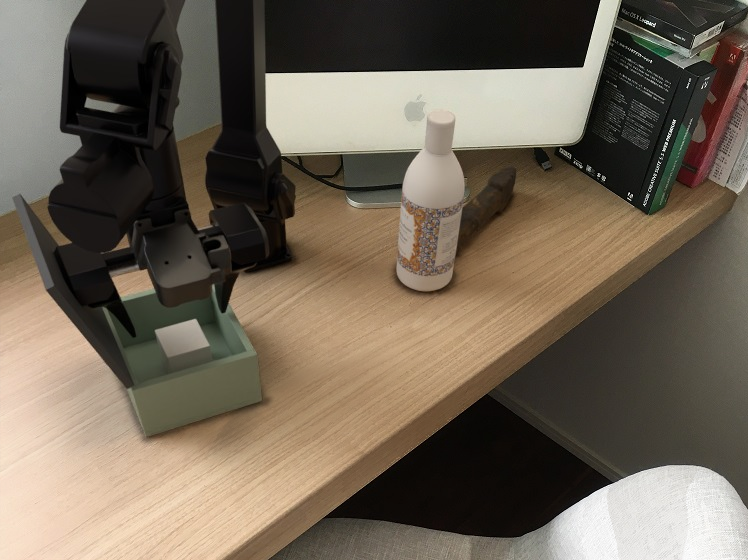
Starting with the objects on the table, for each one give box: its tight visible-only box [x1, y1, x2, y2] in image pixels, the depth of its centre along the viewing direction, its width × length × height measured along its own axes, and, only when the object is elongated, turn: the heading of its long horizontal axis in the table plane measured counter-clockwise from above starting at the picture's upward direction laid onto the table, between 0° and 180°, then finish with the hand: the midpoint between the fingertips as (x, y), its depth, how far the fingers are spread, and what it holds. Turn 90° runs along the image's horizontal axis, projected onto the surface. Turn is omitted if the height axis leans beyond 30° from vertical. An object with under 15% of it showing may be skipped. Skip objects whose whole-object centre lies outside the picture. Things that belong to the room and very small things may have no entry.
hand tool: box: [456, 165, 517, 254], centre depth 101 cm, size 19×4×5 cm, turn 143°
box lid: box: [11, 193, 134, 390], centre depth 72 cm, size 13×14×1 cm
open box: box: [102, 284, 263, 438], centre depth 82 cm, size 13×14×7 cm
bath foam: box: [395, 108, 465, 292], centre depth 89 cm, size 7×7×20 cm
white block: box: [155, 319, 213, 374], centre depth 83 cm, size 4×4×4 cm
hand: (178, 322), depth 79 cm, fingers open, 9 cm apart
